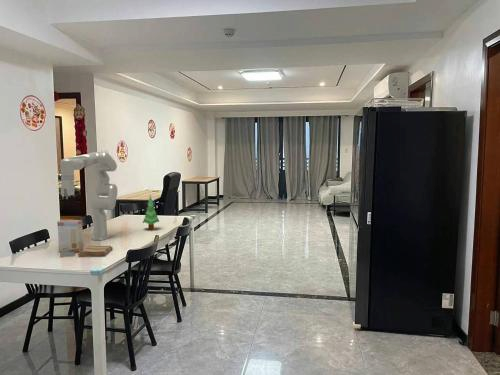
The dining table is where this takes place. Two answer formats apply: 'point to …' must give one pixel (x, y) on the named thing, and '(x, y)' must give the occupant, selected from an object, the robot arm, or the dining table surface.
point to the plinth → (95, 251)
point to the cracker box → (70, 235)
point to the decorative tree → (150, 215)
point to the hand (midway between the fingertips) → (68, 204)
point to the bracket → (67, 253)
